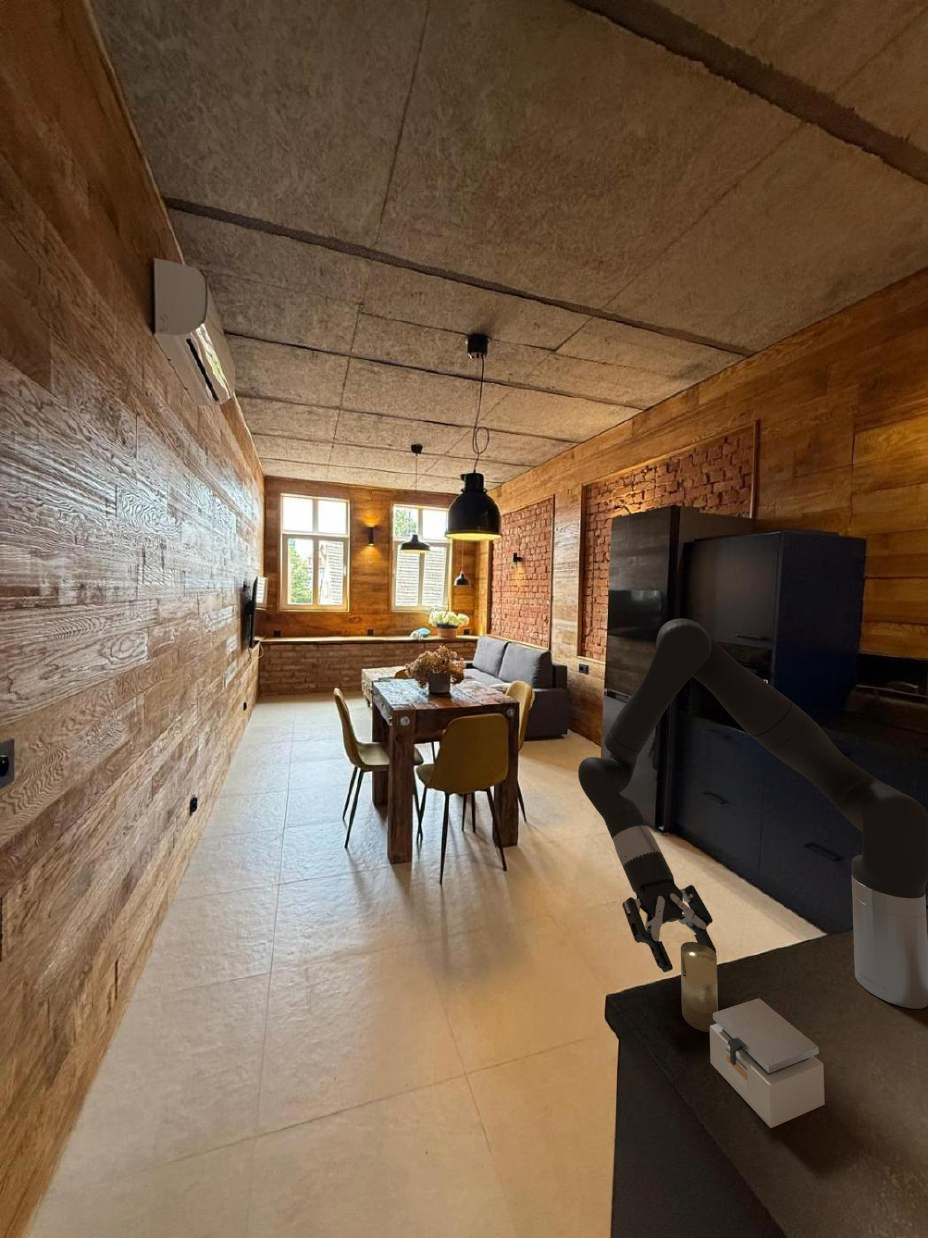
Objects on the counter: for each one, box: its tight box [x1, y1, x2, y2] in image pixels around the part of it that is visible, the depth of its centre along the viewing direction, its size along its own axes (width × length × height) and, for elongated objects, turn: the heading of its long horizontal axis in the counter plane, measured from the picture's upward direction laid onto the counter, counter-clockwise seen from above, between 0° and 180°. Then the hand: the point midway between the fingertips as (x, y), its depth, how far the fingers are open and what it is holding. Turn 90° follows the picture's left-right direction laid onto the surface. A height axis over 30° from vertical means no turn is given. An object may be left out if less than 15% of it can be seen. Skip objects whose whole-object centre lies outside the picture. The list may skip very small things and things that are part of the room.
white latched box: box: [709, 1023, 825, 1129], centre depth 62 cm, size 9×9×5 cm
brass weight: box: [680, 941, 719, 1033], centre depth 73 cm, size 5×5×10 cm
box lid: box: [713, 997, 820, 1073], centre depth 62 cm, size 10×8×4 cm
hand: (690, 965), depth 74 cm, fingers open, 8 cm apart
